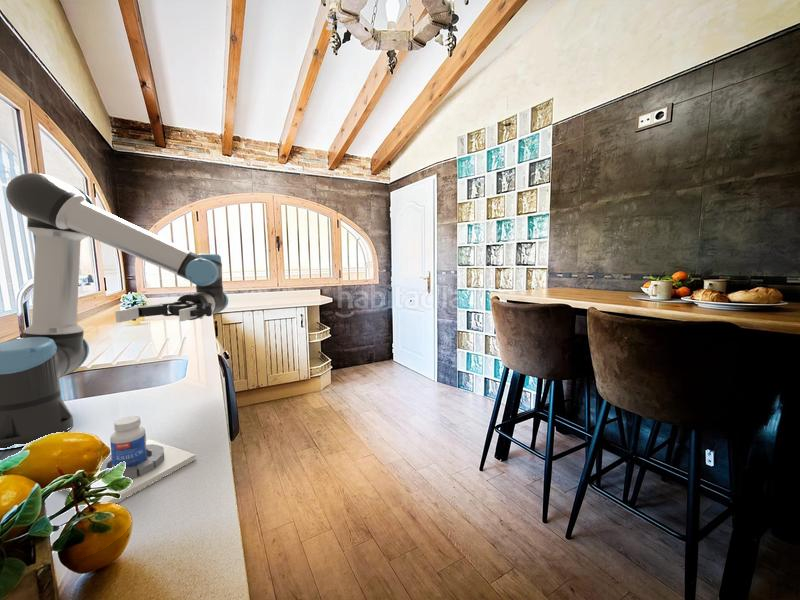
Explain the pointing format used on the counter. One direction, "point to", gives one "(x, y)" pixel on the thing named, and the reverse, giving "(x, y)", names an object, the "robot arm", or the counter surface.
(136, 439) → the pill bottle
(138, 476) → the collar plate
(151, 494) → the counter surface
